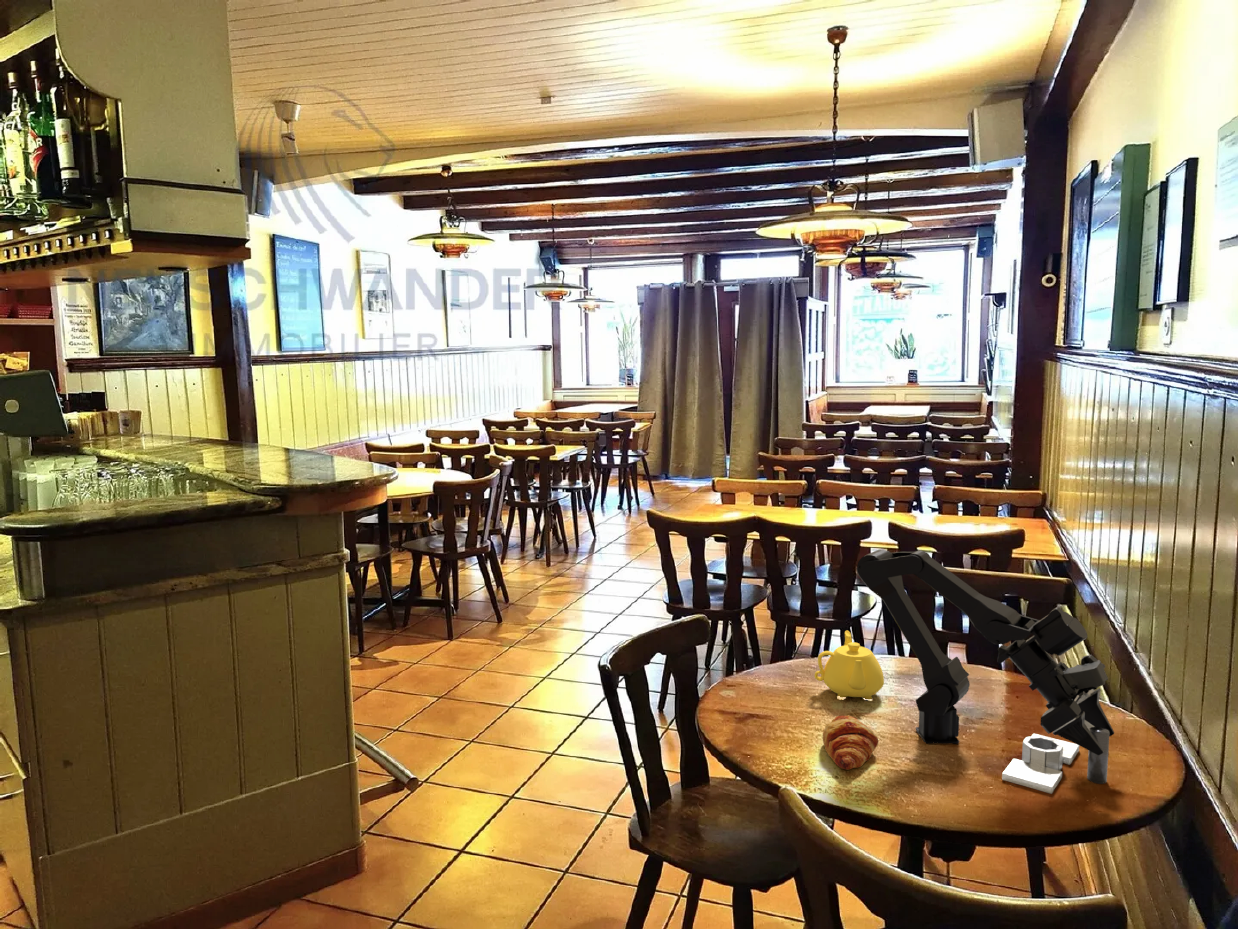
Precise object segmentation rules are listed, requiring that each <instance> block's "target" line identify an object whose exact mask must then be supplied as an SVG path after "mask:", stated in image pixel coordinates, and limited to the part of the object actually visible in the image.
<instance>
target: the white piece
mask: <svg viewBox="0 0 1238 929" xmlns="http://www.w3.org/2000/svg"><path fill="white" fill-rule="evenodd" d="M1079 752H1080V746H1079V745H1077V744H1075V743H1073V742H1071V741H1066V740H1061V739H1057V738H1053V737H1050V736H1045V735H1042V734H1038V733H1032V735H1031V736H1026V737H1025V738H1024V739H1023V741H1022V752H1021V759H1018V758H1012V760H1011V762H1010V763H1009V764H1008V765H1007V767H1005V769H1004V770H1003V772H1002V774H1001V780H1002V781H1006V782H1009V783H1011V784H1012V783H1013V784H1016V785H1020V786H1023V787H1027V788H1031V789H1034V790H1037V791H1040V792H1044V793H1047V794H1051V795H1052V794H1053V793H1054V791H1055V789H1056V788H1057V787H1058V785H1059V783H1060V781H1061V780H1062V778H1063V771H1061V770H1062V768H1063V764H1066V765H1070V766H1071V764H1072V763H1073V761H1074V759H1075V758H1076V756H1077V755H1078V753H1079Z"/></svg>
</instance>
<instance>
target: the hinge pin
mask: <svg viewBox="0 0 1238 929" xmlns="http://www.w3.org/2000/svg"><path fill="white" fill-rule="evenodd" d="M1090 732H1091V733H1092V735H1093V736H1094V738H1095V739H1096V740H1097V742H1098V743H1099V745H1100V746H1101V748H1102V750H1103V751H1104V752H1103V753H1102V754H1101V755H1096V754H1095V753H1093V752H1091V751H1089V750H1088V753H1087V754H1088V756H1087V770H1086V771H1087V772H1086V774H1087V776H1086V779H1087V780H1088V781H1089V782H1091V783H1094V784H1098V785H1104V784H1106V783H1108V779H1107V778H1108V767H1109V766H1108V764H1109V748H1110V747H1109V746H1110V736H1109V733H1110V732H1109V731H1108V730H1107V729H1104V728H1101V727H1091V728H1090Z"/></svg>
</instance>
